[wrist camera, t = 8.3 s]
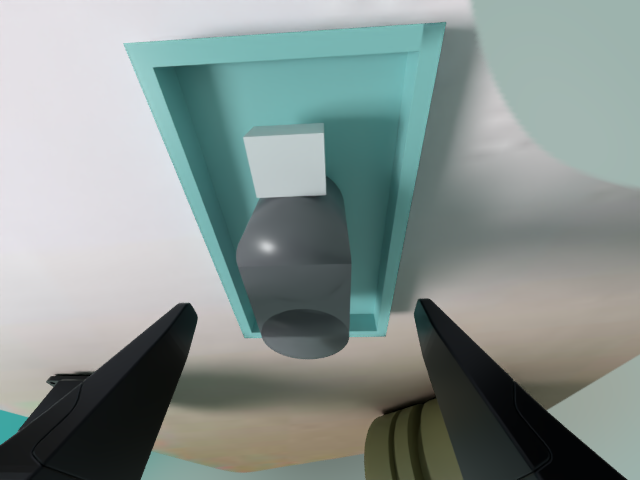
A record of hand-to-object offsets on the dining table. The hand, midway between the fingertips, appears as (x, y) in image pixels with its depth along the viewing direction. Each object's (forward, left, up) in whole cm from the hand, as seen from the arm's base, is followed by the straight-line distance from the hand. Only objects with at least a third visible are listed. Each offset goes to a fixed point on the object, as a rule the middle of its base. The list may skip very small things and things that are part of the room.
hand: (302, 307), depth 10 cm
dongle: (0, 0, -4) cm, 4 cm away
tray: (+1, 0, -5) cm, 5 cm away
